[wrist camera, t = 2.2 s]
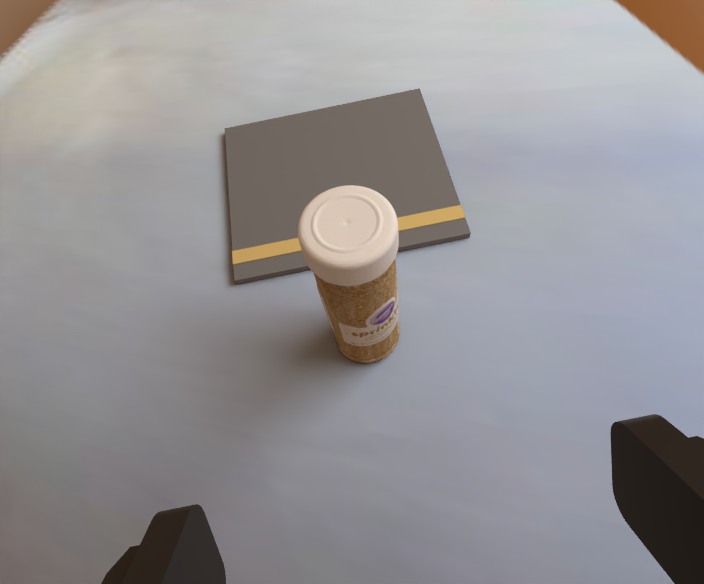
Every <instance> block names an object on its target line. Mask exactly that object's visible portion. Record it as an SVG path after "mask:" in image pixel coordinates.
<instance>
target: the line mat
mask: <svg viewBox="0 0 704 584" xmlns="http://www.w3.org/2000/svg"><path fill="white" fill-rule="evenodd" d="M225 141H226V157H227V173H228V189H229V205H230V221H231V237H232V259H233V269H234V281H235V283H236V284H241V283H246V282H251V281H256V280H261V279H266V278H271V277H276V276H281V275H286V274H291V273H296V272H301V271H306V270H311V269H310V268H309V267H308V265H307V263H306V261H305V258H304V255H303V252H302V249H301V246H300V243H299V239H298V223H299V219H300V217H301V214H302V212H303V211H304V209H305V207H306V206H307V205H308V204H309V203H310V202H311V201H312V200H313V199H314V198H315V197H316V196H318V195H319V194H321V193H323V192H325V191H327V190H329V189H332V188H335V187H339V186H347V185H355V186H362V187H366V188H370V189H372V190H374V191H376V192H378V193H380V194H381V195H383V196H384V197H385V198H386V199H387V200H388V201H389V202H390V204H391V205H392V207H393V209H394V211H395V213H396V216H397V220H398V233H399V245H398V251H397V252H400V251H405V250H410V249H415V248H420V247H425V246H430V245H435V244H440V243H445V242H450V241H455V240H460V239H465V238H469V237H470V230H469V227H468V225H467V222H466V219H465V215H464V212H463V209H462V206H461V205H460V202H459V199H458V196H457V193H456V191H455V188H454V185H453V182H452V179H451V176H450V174H449V171H448V168H447V165H446V162H445V159H444V157H443V154H442V151H441V148H440V145H439V142H438V140H437V137H436V134H435V131H434V128H433V125H432V123H431V120H430V117H429V114H428V111H427V108H426V105H425V103H424V100H423V97H422V94H421V91H420V89H415V90H410V91H406V92H401V93H396V94H391V95H386V96H381V97H376V98H372V99H367V100H362V101H357V102H352V103H347V104H342V105H337V106H333V107H328V108H323V109H318V110H313V111H308V112H303V113H299V114H294V115H289V116H284V117H279V118H274V119H269V120H264V121H260V122H255V123H250V124H245V125H240V126H235V127H230V128H225Z"/></svg>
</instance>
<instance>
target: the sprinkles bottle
mask: <svg viewBox="0 0 704 584" xmlns="http://www.w3.org/2000/svg"><path fill="white" fill-rule="evenodd" d="M298 239H299V243H300V246H301V249H302V252H303V255H304V258H305V261H306V263H307V265H308V267H309V268H310V269H311V271H312V272H313V273H314V275H315V278H316V281H317V288H318V291H319V294H320V297H321V300H322V303H323V306H324V308H325V311H326V314H327V317H328V319H329V322H330V325H331V327H332V329H333V331H334V332H335V339H336V342H337V345H338V347H339V349H340V350H341V352H342V353H343V354H344V355H345V356H346V357H348V358H349V359H351V360H353V361H356V362H361V363H373V362H376V361H379V360H382V359H383V358H385V357H387V356H388V355H389V354H390V353H392V352H393V350H394V348H395V347H396V345H397V342H398V339H399V332H400V330H399V325H398V321H397V320H398V289H397V283H396V282H397V277H396V260H395V257H396V255H397V251H398V245H399V233H398V220H397V216H396V213H395V211H394V209H393V207H392V205H391V204H390V202H389V201H388V200H387V199H386V198H385V197H384V196H383V195H381V194H380V193H378V192H376V191H374V190H372V189H370V188H366V187H362V186H355V185H347V186H339V187H335V188H332V189H329V190H327V191H325V192H323V193H321V194H319V195H318V196H316V197H315V198H314V199H313V200H312V201H311V202H310V203H309V204H308V205H307V206H306V207H305V209H304V211H303V212H302V214H301V217H300V219H299V223H298Z"/></svg>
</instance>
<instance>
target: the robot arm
mask: <svg viewBox="0 0 704 584" xmlns="http://www.w3.org/2000/svg"><path fill="white" fill-rule="evenodd" d="M611 456H612V484H613V492H614V496H615V500H616V503H617V505H618V508H619V510H620V512H621V514H622V516H623V518H624V519H625V521H626V522H627V524H628V525H629V526H630V528H631V529H632V530H633V531H634V533H635V534H636V535H637V536H638V538H639V539H640V540H641V541H642V543H643V544H644V545H645V547H646V548H647V549H648V550H649V552H650V553H651V554H652V555H653V557H654V558H655V559H656V561H657V562H658V563H659V564H660V566H661V567H662V568H663V569H664V571H665V572H666V573H667V574H668V576H669V577H670V578H671V580H672V581H673V582H674V583H675V584H704V439H703V438H700V437H698V436H695V437H690V438H688V437H687V436H685V435H684V434H683V433H682V432H680V431H679V430H678V429H677V428H675V427H674V426H673V425H672V424H671V423H669V422H668V421H667V420H666V419H664V418H663V417H661V416H659V415H656V414H654V415H648V416H643V417H638V418H633V419H628V420H623V421H618V422H615V423H613V425H612V427H611ZM101 584H226V576H225V568H224V564H223V561H222V558H221V556H220V553H219V550H218V548H217V545H216V542H215V540H214V537H213V534H212V532H211V529H210V526H209V524H208V521H207V518H206V516H205V513H204V511H203V509H202V507H201V506H200V505H197V504H196V505H191V506H186V507H181V508H176V509H171V510H166V511H161V512H158V513H157V514H156V515H155V516H154V517H153V519H152V521H151V523H150V525H149V527H148V529H147V532H146V534H145V536H144V538H143V540H142V542H141V544H140V545H138V546H133V547H130V548H129V549H128V550H127V551H126V552H125V554H124V555H123V556H122V557H121V558H120V559H119V560H118V561H117V563H116V564H115V565H114V566H113V567H112V568H111V569H110V570H109V572H108V573H107V574H106V576H105V578H104V580H103V581H102V583H101Z"/></svg>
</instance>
